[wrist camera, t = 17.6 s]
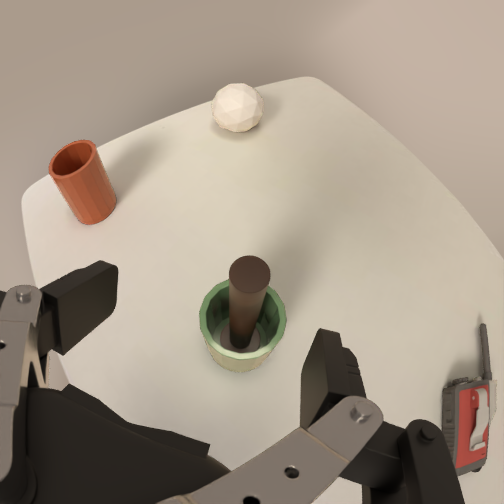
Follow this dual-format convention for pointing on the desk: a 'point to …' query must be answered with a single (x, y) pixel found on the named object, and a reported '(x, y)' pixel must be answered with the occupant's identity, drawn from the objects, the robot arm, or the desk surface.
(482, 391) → the walkie-talkie
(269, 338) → the green cup
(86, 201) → the terracotta cup
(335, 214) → the desk surface
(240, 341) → the muddler
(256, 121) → the geometric ball
